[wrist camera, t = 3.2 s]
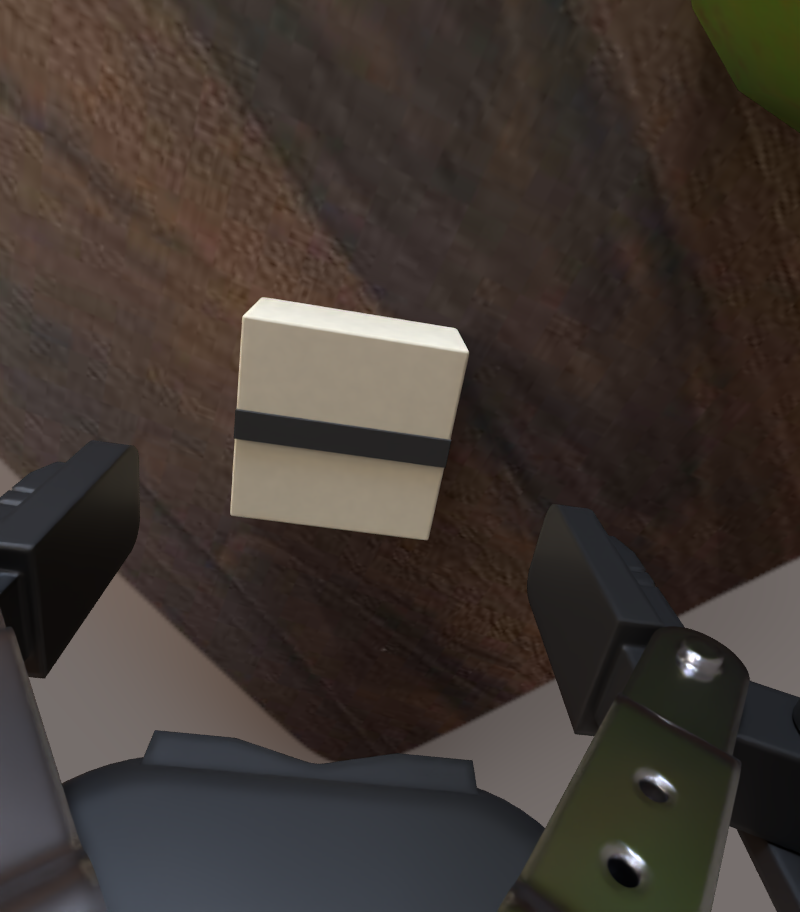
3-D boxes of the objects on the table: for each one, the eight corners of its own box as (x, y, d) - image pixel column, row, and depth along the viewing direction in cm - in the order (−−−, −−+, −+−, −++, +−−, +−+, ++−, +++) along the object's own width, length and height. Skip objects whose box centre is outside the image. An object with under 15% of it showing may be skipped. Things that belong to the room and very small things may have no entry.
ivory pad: (248, 474, 19) (228, 518, 17) (261, 295, 17) (240, 316, 14) (422, 498, 20) (428, 543, 17) (457, 328, 17) (470, 352, 15)
